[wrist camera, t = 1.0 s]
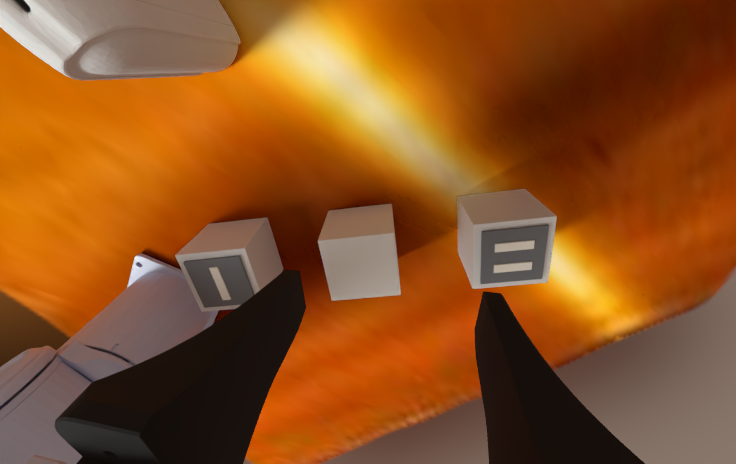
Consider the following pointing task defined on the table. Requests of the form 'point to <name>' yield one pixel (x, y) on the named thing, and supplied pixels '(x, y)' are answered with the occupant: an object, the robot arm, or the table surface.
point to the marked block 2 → (505, 238)
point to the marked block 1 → (230, 262)
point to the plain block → (360, 252)
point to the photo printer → (124, 36)
